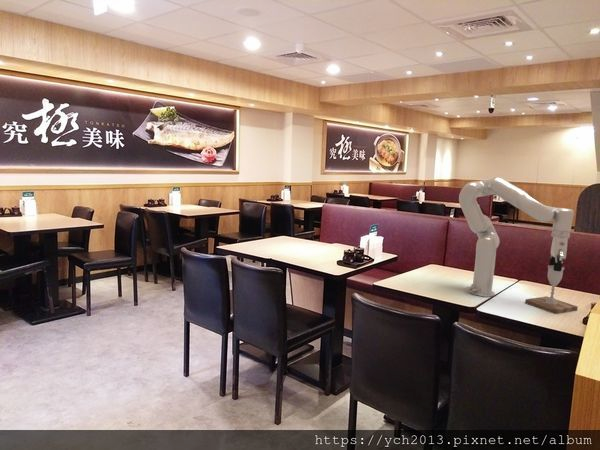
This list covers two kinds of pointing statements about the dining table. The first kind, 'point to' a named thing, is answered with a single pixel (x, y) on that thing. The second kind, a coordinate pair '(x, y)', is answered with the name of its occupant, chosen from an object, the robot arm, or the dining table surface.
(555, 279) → the chalice
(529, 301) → the serving board
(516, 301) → the dining table surface
